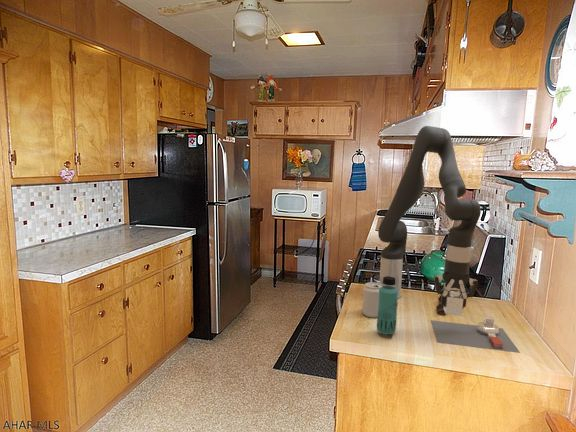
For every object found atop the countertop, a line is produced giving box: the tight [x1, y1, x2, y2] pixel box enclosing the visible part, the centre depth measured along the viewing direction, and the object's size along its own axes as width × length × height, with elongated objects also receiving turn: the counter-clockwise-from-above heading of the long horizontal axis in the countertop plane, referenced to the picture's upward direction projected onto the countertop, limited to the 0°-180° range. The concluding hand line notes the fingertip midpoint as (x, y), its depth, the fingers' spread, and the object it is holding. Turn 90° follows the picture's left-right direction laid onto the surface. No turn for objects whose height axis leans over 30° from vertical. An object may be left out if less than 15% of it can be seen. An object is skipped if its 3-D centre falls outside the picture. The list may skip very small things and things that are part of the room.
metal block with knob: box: [443, 288, 464, 317], centre depth 128 cm, size 5×5×8 cm
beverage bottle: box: [376, 276, 399, 335], centre depth 127 cm, size 6×7×20 cm
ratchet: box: [477, 315, 503, 349], centre depth 125 cm, size 6×15×5 cm, turn 166°
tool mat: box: [429, 319, 521, 354], centre depth 127 cm, size 24×18×1 cm
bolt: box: [435, 294, 447, 316], centre depth 150 cm, size 6×5×15 cm
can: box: [361, 282, 382, 319], centre depth 144 cm, size 8×8×12 cm
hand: (452, 306), depth 129 cm, fingers closed on metal block with knob, 5 cm apart
